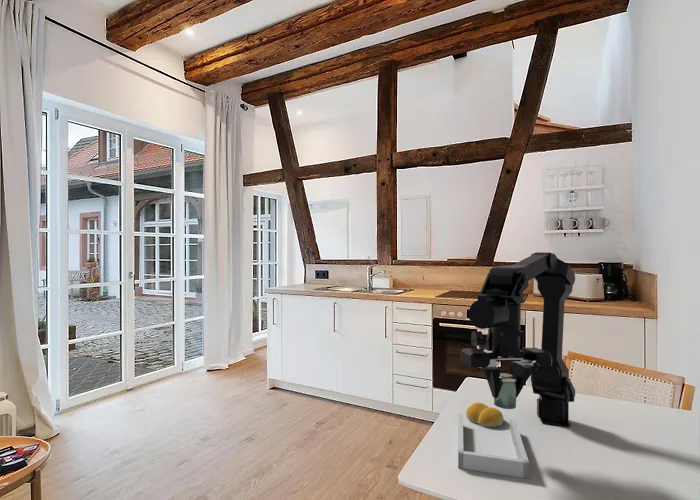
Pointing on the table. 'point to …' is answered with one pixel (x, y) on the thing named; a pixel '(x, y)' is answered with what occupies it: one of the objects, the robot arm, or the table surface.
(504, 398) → the tea tin
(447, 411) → the table surface
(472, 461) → the u-shaped frame
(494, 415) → the bread roll
